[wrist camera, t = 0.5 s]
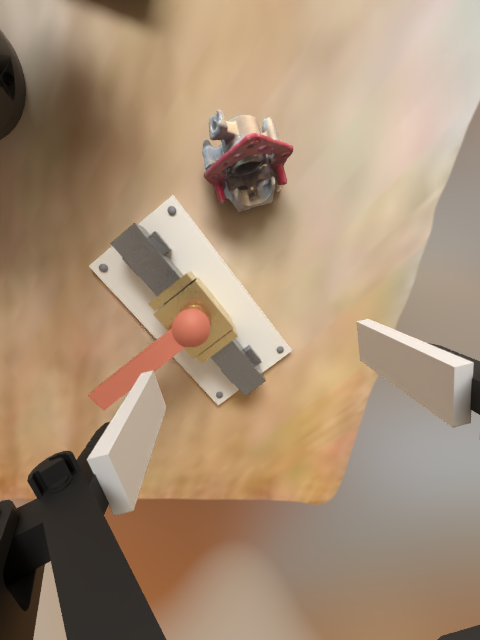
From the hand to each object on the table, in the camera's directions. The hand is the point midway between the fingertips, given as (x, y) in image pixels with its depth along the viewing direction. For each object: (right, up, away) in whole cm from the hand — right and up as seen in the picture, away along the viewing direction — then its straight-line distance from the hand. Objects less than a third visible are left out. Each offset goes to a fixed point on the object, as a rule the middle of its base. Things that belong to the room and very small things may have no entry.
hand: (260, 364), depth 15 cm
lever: (-12, -2, +16) cm, 20 cm away
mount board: (-8, +4, +24) cm, 26 cm away
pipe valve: (-8, +4, +24) cm, 26 cm away
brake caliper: (0, +21, +21) cm, 30 cm away
